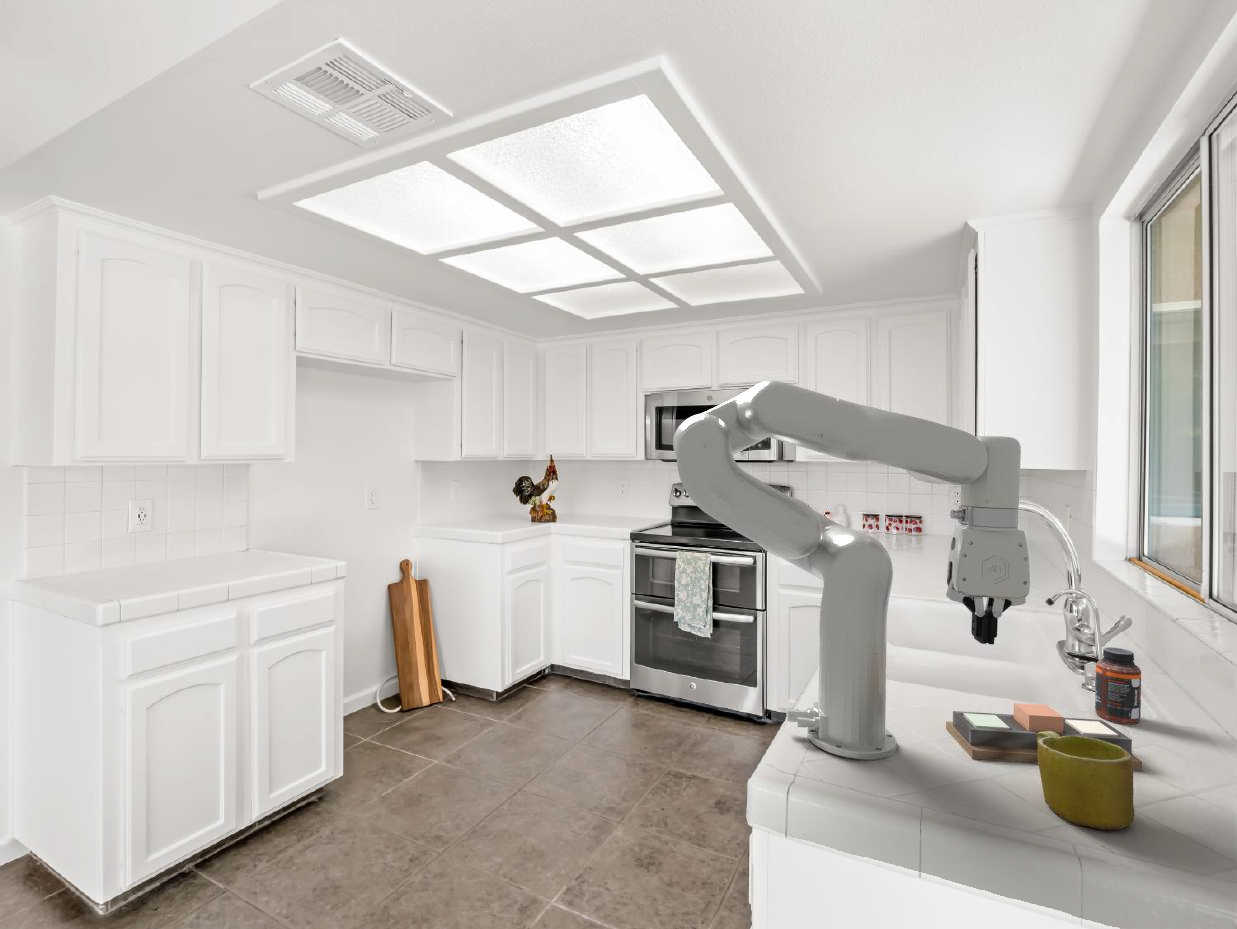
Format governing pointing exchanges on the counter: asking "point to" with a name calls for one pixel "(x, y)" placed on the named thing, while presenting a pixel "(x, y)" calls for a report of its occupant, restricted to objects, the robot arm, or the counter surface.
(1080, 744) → the mug
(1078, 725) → the key cream
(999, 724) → the key sage
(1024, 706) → the key terracotta
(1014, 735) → the key panel
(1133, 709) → the supplement bottle
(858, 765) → the counter surface
